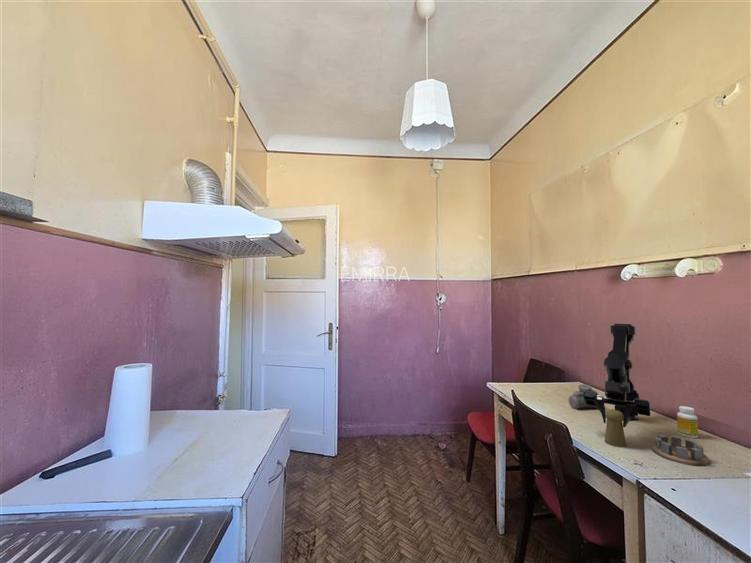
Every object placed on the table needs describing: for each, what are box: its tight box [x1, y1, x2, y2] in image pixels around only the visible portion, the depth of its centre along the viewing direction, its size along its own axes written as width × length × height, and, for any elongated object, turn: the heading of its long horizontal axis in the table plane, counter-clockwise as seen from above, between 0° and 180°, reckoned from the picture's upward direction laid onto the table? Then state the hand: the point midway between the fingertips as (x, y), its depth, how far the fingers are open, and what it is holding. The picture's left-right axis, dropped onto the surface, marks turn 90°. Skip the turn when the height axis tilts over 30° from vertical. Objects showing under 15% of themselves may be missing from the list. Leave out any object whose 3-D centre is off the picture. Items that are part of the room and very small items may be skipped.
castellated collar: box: [655, 434, 705, 461], centre depth 103 cm, size 11×11×3 cm
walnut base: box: [651, 443, 710, 467], centre depth 103 cm, size 13×13×1 cm
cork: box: [604, 408, 627, 448], centre depth 112 cm, size 6×6×11 cm
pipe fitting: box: [567, 384, 600, 410], centre depth 149 cm, size 12×8×10 cm, turn 98°
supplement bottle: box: [676, 405, 699, 439], centre depth 119 cm, size 5×5×10 cm
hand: (614, 424), depth 111 cm, fingers closed on cork, 5 cm apart
